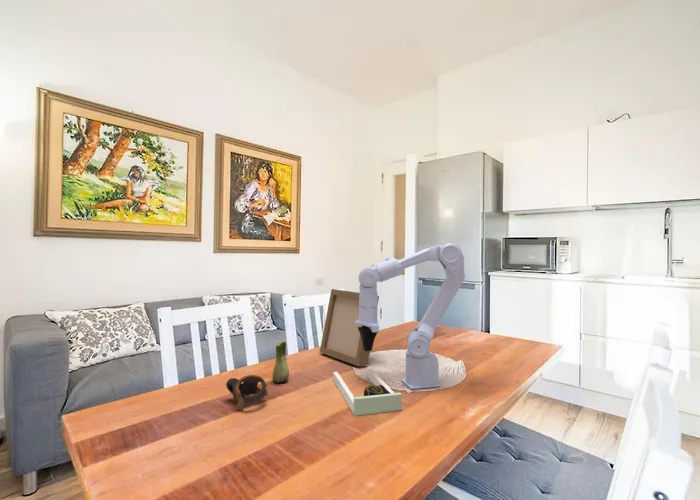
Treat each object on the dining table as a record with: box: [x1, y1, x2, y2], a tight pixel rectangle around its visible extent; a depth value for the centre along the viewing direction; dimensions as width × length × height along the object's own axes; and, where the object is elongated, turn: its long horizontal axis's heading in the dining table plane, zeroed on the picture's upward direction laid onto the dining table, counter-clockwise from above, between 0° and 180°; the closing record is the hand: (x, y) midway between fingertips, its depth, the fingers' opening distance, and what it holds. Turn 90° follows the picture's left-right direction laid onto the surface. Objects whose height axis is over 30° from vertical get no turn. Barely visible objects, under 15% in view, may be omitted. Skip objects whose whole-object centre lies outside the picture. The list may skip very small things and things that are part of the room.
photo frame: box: [319, 288, 380, 367], centre depth 133 cm, size 15×22×25 cm
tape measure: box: [363, 384, 391, 396], centre depth 94 cm, size 7×7×4 cm
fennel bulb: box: [271, 340, 290, 384], centre depth 109 cm, size 6×5×12 cm
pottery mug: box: [225, 374, 269, 412], centre depth 93 cm, size 12×10×8 cm
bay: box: [332, 368, 403, 417], centre depth 100 cm, size 12×24×4 cm, turn 15°
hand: (367, 350), depth 110 cm, fingers closed
